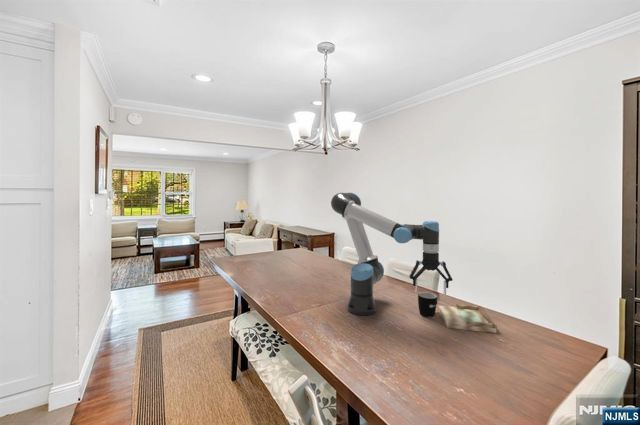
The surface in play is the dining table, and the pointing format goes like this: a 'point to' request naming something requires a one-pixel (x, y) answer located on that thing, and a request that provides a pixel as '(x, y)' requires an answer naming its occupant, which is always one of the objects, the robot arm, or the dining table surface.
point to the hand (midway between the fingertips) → (430, 293)
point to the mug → (427, 303)
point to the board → (467, 318)
